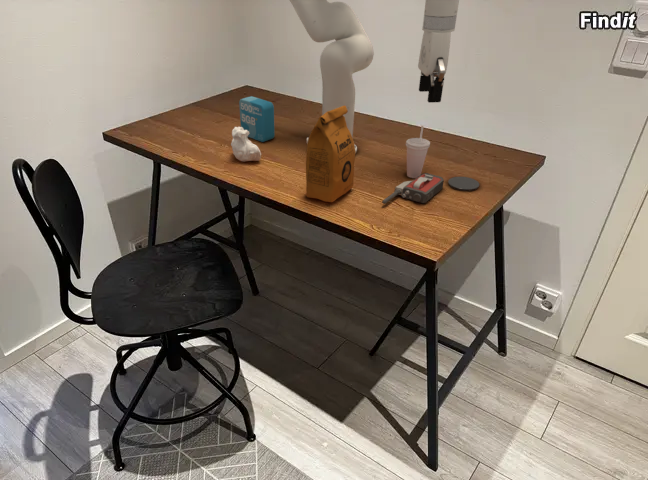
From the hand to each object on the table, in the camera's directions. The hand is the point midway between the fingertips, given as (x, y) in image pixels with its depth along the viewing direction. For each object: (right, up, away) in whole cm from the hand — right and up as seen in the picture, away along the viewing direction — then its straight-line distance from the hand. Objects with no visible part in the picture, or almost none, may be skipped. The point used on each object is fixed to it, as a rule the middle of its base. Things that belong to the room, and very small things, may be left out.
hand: (429, 96), depth 132 cm
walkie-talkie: (-4, -26, +1) cm, 26 cm away
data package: (-46, 0, +39) cm, 60 cm away
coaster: (+11, -22, +6) cm, 25 cm away
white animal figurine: (-49, -11, +23) cm, 55 cm away
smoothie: (-1, -18, +12) cm, 22 cm away
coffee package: (-25, -25, +3) cm, 35 cm away
